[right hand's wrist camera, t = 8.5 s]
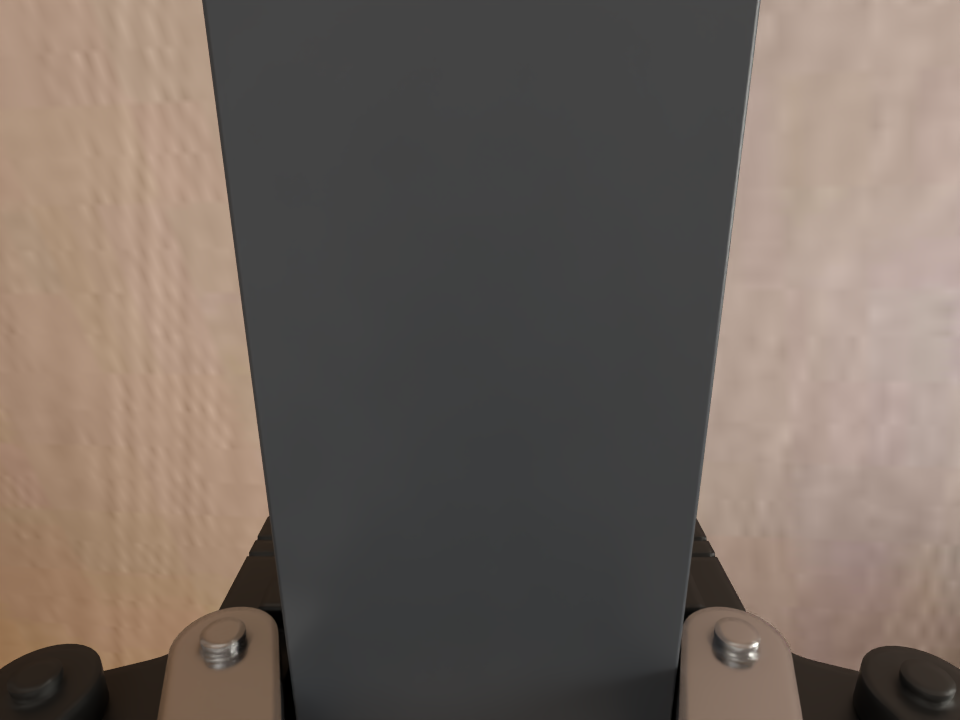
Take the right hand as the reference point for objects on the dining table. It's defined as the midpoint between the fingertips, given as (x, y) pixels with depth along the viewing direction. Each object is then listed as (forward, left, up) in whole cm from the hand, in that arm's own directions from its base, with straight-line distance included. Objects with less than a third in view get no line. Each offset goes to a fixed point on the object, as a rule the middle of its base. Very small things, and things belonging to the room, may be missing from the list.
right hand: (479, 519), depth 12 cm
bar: (+30, -13, -3) cm, 33 cm away
